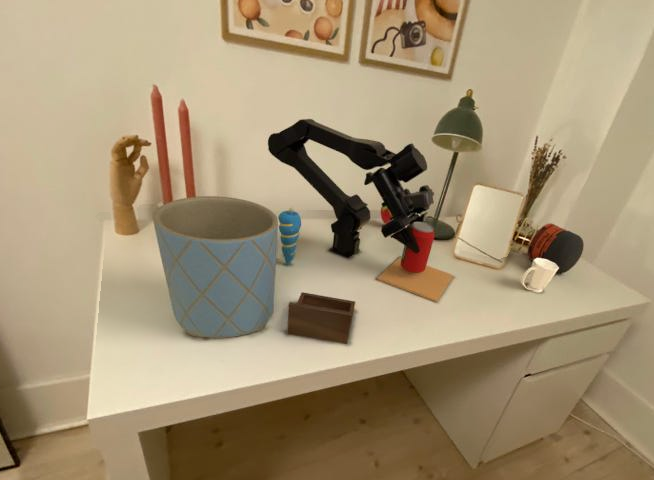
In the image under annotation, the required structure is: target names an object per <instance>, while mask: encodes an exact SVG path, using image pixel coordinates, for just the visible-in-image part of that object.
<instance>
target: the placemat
mask: <svg viewBox="0 0 654 480" xmlns="http://www.w3.org/2000/svg"><path fill="white" fill-rule="evenodd" d="M401 259H402V255H401V256H399V257H398V258H397V259H396V260H395V261H394V262H393V263H392V264H391V265H389V267H388V268H386V270H384V271H383V272H382V273H381V274H380V275H379V276H378V277H377V280H378V281H380V282H382V283H386V284H388V285H391V286H393V287H396V288H398V289H401V290H403V291H406V292H409V293H411V294H414V295H417V296H420V297H421V298H424V299H427V300H429V301H432V302H435V303H437V301H438V300H439V299H440V297H441V295H442V294H443V292H444V291H445V289H446V288H447V287H448V285H449V283H450V282H451V280H452V279H453V277H454V274H451V273H449V272H446V271H443V270H440V269H438V268H434V267H432V266H429V265H426V268H425V270H424V271H423V272H420V273H410V272H408V271H406V270H405V269H404V268H402V266H401V264H400V263H401Z"/></svg>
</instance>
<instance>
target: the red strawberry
mask: <svg viewBox="0 0 654 480" xmlns="http://www.w3.org/2000/svg"><path fill="white" fill-rule="evenodd" d="M380 217H381V221H382V222H383V224H386V223H387V222H389V221H391V220H390V218H391V217H392V216H391V214H390V212H389V210H388V208H387V207H386V206H385V207H383V206H382V205H381V207H380Z"/></svg>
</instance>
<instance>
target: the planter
mask: <svg viewBox="0 0 654 480" xmlns="http://www.w3.org/2000/svg"><path fill="white" fill-rule="evenodd" d="M152 222H153V226H154V227H153V228H154V231H155V237H156V240H157V241H156V242H157V245H158V250H159V255H160V259H161V264H162V268H163V273H164V277H165V282H166V286H167V290H168V291H167V292H168V295H169V299H170V304H171V309H172V314H173V316H174V318H175V320H176V322H177V323H178V324H179V325H180V326H181V327H182V329H183V330H184V331H185V333H187V334H188V335H189V336H192V337H198V338H199V337H200V338H212V339H213V338H216V339H217V338H218V339H221V338H234V337H239V336H245V335H248V334H253V333H256V332H259V331H261V330H263V329H264V328H265V327H266V325H267V323H268V322H269V320H270V318H271V317H272V314H273V311H274V302H275V288H276V287H275V285H276V271H277V270H276V269H277V254H278V232H279V219H278V217H277V215H276V214H275V212H274V211H272V210H271V209H269V208H268V207H265V206H264V205H261V204H259V203H256V202H253V201H250V200H245V199H242V198H237V197H229V196H219V195H217V196H215V195H204V196H201V195H200V196H191V197H184V198H179V199H174V200H172V201H169V202H165V203H164V204H162V205H160V206H159V207H157V208H156V209H155V211H154V212H153V214H152Z"/></svg>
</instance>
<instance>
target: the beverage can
mask: <svg viewBox="0 0 654 480" xmlns="http://www.w3.org/2000/svg"><path fill="white" fill-rule="evenodd" d="M412 232H413V235H414V237H415V239H416V242H417V244H418V247H419V250H420V252H418V253H415V252H413V251H412V250H411V249H409V248H408V247H406V246H405V245H404V244H403V249H402V255H401V257H402V259H401V263H400V264H401V266H402V268H404V269H405V270H406V271H408V272H410V273H420V272H423V271H424V270H425V268H426V266H428V260H429V257H430V254H431V250H432V246H433V243H434V239H435V235H436V234H435V231H434V226H432V225H431V224H430V223H426V222H425V223H424V222H414V224H413V229H412Z"/></svg>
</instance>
